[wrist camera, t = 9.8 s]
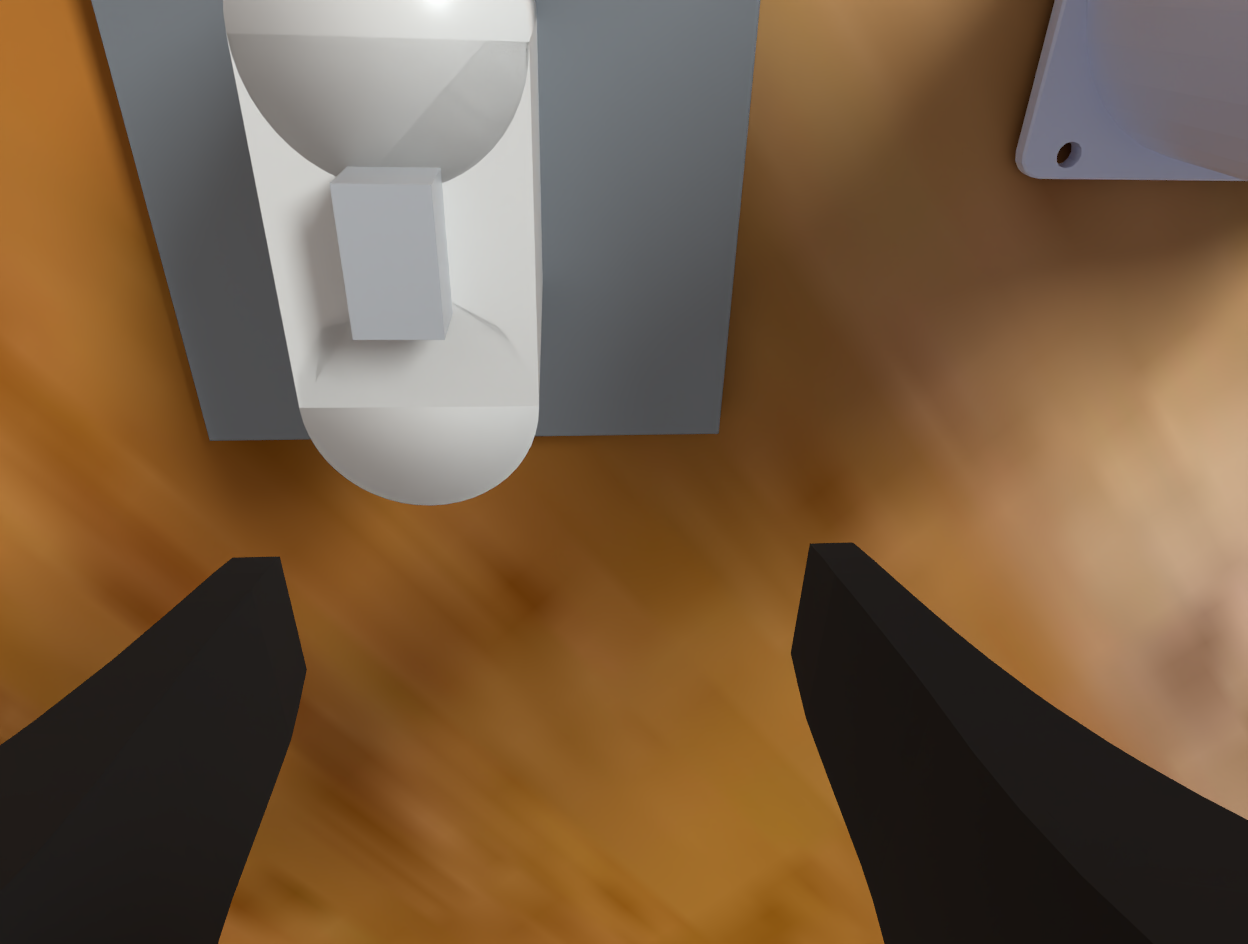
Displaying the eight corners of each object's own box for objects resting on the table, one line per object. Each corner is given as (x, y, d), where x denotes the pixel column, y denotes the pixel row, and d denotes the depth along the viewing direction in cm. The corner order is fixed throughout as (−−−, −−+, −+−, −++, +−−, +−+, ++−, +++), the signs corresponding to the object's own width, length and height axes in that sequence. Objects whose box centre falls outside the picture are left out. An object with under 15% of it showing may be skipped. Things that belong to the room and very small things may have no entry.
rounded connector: (534, -101, 14) (521, -152, 8) (544, 358, 19) (540, 538, 13) (321, -110, 14) (150, -169, 8) (382, 358, 18) (302, 543, 13)
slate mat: (767, -184, 15) (778, -192, 14) (713, 418, 21) (718, 433, 20) (56, -216, 14) (30, -226, 13) (221, 424, 20) (209, 440, 19)
